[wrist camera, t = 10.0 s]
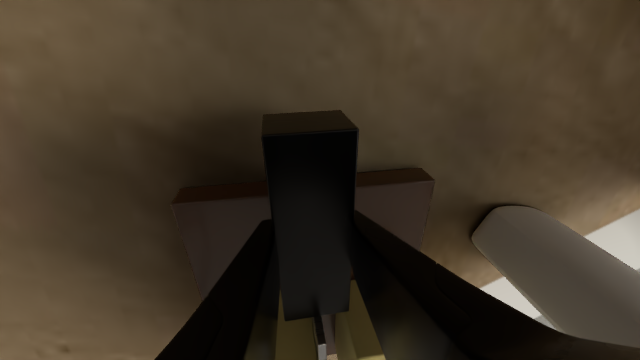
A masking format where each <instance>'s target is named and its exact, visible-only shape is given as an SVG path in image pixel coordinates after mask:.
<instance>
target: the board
mask: <svg viewBox="0 0 640 360" xmlns="http://www.w3.org/2000/svg"><path fill="white" fill-rule="evenodd" d="M434 183H435V180H434V179H433V178H432V177H431V176H430V175H429V174H428V173H426V172H425V171H424V170H423V169H422V168H413V169H401V170H390V171H378V172H366V173H357V174H356V192H355V210H357V211H359V212H360V213H362V214H363V215H365V216H367V217H368V218H370V219H371V220H373V221H374V222H376V223H377V224H379V225H380V226H382V227H383V228H385V229H386V230H388V231H389V232H391V233H392V234H394V235H395V236H397V237H399V238H400V239H402V240H403V241H405V242H406V243H408V244H409V245H411V246H412V247H414V248H415V249H417V250H418V251H420V247H421V243H422V238H423V233H424V229H425V224H426V220H427V215H428V211H429V206H430V202H431V197H432V192H433V188H434ZM171 208H172V211H173V214H174V217H175V220H176V223H177V226H178V229H179V232H180V235H181V238H182V241H183V244H184V247H185V250H186V253H187V256H188V259H189V262H190V265H191V268H192V271H193V274H194V277H195V280H196V283H197V286H198V289H199V292H200V295H201V298H202V301H203V300H204V299H205V297H206V296H208V293H209V292H210V291H211V289H212V288H213V286H214V285H215V284H216V282H217V281H218V280H219V278H220V277H221V275H222V274H223V273H224V271H225V270H226V269H227V267H228V266H229V265H230V263H231V262H232V260H233V259H234V258H235V256H236V255H237V254H238V252H239V251H240V250H241V248H242V247H243V245H244V244H245V243H246V241H247V240H248V239H249V237H250V236H251V234H252V233H253V232H254V230H255V229H256V228H257V226H258V225H259V224H260V222H261V221H262V220H267V219H271V211H270V203H269V195H268V187H267V181H262V182H250V183H238V184H227V185H215V186H204V187H192V188H181V189H180V190H179V192H178V193H177V195H176V197H175V198H174V200H173V202H172V203H171ZM351 280H355V277H354V274H353V270H352V267H351ZM335 320H336V313H335V314H329V315H323V316H322V322H323V327H324V333H325V338H326V351H327V355H332V354H337V353H336V348H335Z"/></svg>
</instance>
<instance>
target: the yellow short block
mask: <svg viewBox="0 0 640 360" xmlns="http://www.w3.org/2000/svg"><path fill="white" fill-rule="evenodd" d="M335 348H336V353H337V358H338V360H386V359H385V357H384V354H383V351H382V349H381V346H380V343H379V341H378V338H377V336H376V333H375V330H374V328H373V325H372V322H371V320H370V317H369V315H368V312H367V309H366V307H365V304H364V302H363V299H362V296H361V294H360V291H359V288H358V286H357V283H356V280H351V284H350V303H349V311H347V312H341V313H336V320H335Z"/></svg>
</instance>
